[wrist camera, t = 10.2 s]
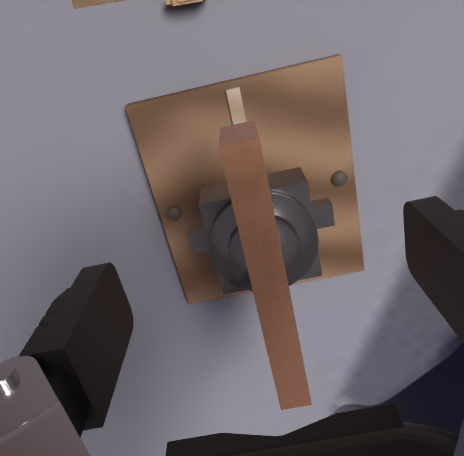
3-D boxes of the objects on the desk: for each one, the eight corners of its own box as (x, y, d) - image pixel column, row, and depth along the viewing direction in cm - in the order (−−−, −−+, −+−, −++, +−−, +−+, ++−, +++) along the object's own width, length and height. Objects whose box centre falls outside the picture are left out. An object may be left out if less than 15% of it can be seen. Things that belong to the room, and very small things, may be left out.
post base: (360, 263, 39) (396, 326, 30) (189, 296, 40) (179, 365, 32) (337, 54, 31) (377, 63, 23) (128, 103, 32) (95, 129, 24)
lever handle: (314, 89, 26) (353, 117, 18) (342, 302, 33) (380, 393, 25) (159, 124, 27) (129, 166, 19) (217, 325, 33) (214, 420, 25)
